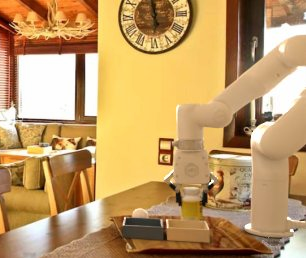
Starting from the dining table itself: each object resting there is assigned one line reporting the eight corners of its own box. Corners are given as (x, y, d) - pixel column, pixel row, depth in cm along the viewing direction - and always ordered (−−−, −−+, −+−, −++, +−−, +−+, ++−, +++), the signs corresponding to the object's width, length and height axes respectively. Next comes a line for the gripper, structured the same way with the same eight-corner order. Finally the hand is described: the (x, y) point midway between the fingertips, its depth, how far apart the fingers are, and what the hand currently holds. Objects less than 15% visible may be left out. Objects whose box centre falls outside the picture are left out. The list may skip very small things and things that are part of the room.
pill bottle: (204, 227, 149) (203, 190, 149) (182, 227, 151) (181, 190, 150) (201, 222, 156) (200, 186, 155) (180, 222, 157) (179, 186, 156)
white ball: (129, 225, 158) (129, 209, 157) (135, 221, 161) (136, 206, 161) (144, 227, 155) (144, 211, 154) (151, 224, 158) (151, 208, 158)
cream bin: (205, 232, 148) (206, 220, 148) (209, 242, 138) (209, 229, 138) (166, 230, 151) (166, 219, 150) (167, 240, 141) (167, 227, 141)
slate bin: (162, 230, 151) (162, 218, 151) (163, 240, 141) (163, 227, 141) (124, 228, 154) (124, 216, 154) (122, 237, 144) (122, 225, 144)
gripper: (160, 147, 150) (161, 207, 151) (223, 146, 146) (224, 208, 147) (159, 144, 157) (161, 202, 159) (219, 143, 153) (221, 203, 154)
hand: (191, 204), depth 153 cm, fingers closed on pill bottle, 6 cm apart
